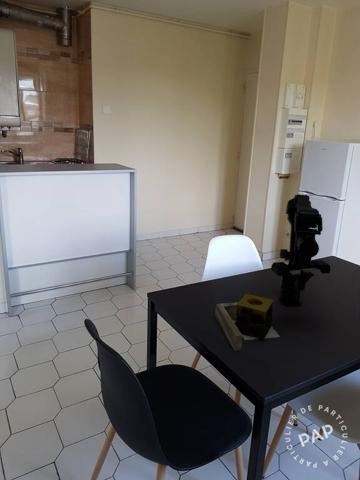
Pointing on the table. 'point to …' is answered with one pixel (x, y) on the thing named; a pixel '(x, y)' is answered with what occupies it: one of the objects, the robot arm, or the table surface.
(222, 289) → the table surface
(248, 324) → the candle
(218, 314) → the arena
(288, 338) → the table surface
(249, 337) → the mat
